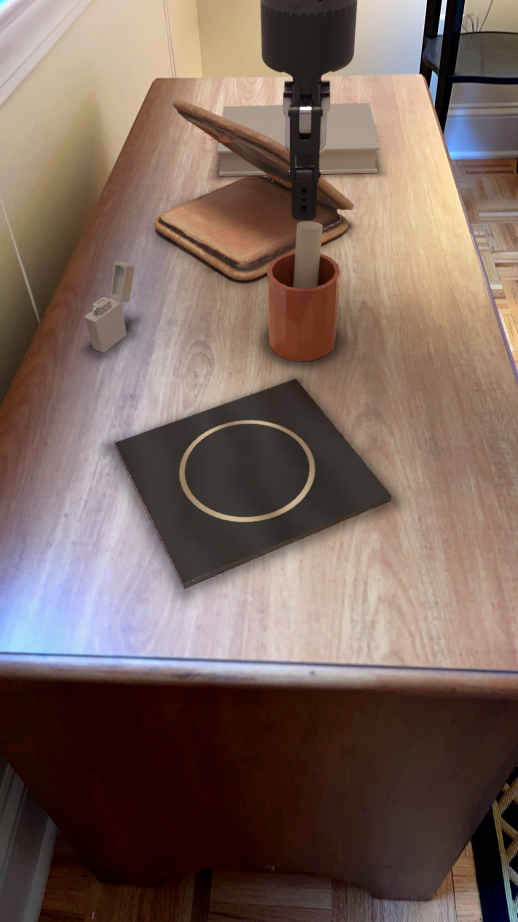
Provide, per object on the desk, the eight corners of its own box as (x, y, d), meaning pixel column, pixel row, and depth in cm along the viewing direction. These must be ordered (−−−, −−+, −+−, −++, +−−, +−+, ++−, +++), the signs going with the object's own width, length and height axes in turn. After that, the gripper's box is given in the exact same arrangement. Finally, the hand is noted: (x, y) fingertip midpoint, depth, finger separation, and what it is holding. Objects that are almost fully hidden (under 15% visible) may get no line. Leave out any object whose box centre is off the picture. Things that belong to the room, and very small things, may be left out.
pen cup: (314, 313, 81) (317, 244, 74) (347, 348, 76) (353, 278, 70) (258, 332, 79) (255, 262, 72) (288, 369, 74) (288, 298, 68)
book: (379, 147, 101) (217, 151, 102) (377, 173, 104) (219, 176, 105) (368, 99, 114) (224, 103, 115) (367, 123, 117) (225, 127, 117)
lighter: (103, 353, 77) (88, 292, 71) (92, 348, 78) (76, 287, 72) (144, 321, 81) (133, 260, 75) (133, 316, 82) (121, 256, 76)
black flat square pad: (296, 382, 73) (296, 377, 72) (391, 500, 62) (392, 495, 61) (115, 446, 67) (114, 441, 67) (184, 588, 56) (183, 583, 56)
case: (360, 228, 94) (371, 103, 82) (243, 289, 85) (236, 159, 73) (260, 178, 104) (257, 62, 92) (147, 228, 95) (127, 106, 83)
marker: (306, 327, 78) (314, 220, 71) (317, 336, 76) (327, 227, 70) (286, 331, 77) (292, 222, 70) (297, 340, 75) (304, 230, 69)
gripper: (360, 21, 48) (346, 235, 60) (355, -31, 58) (343, 162, 69) (253, 23, 48) (260, 234, 60) (265, -30, 58) (269, 162, 70)
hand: (304, 195), depth 65 cm, fingers open, 8 cm apart
